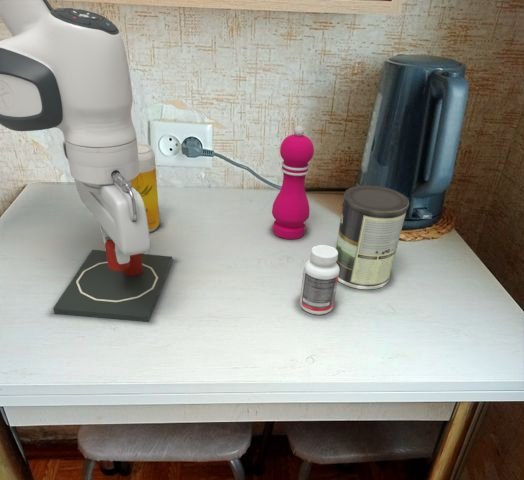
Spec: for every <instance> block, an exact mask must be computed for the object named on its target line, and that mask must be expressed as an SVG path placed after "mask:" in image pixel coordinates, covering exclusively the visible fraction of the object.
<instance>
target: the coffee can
mask: <svg viewBox="0 0 524 480" xmlns="http://www.w3.org/2000/svg"><path fill="white" fill-rule="evenodd" d="M409 206H410V201H409V198H408V197H407V196H406V195H404V194H403V193H401V192H400V191H398V190H395V189H393V188H389V187H385V186H381V185H372V184H369V185H366V184H363V185H355V186H352V187H349V188H347V189H346V190H345V191H344V193H343V202H342V206H341V207H342V209H341V212H340V213H341V214H340V220H339V226H338V232H337V239H336V242H335V243H336V244H335V249H336V250H337V251H338V259H337V261H336V263H337V264H338V266H339V269H340V271H339V277H338V282H339V283H341V284H342V285H344V286H345V287H346V286H347V287H349V288H353V289H356V290H365V291H366V290H370V291H371V290H376V289H380V288H383V287H385V286H386V285H387V284H388V283H389V282H390V278H391V277H390V276H391V272H392V269H393V265H394V262H395V261H394V260H395V257H396V253H397V249H398V245H399V241H400V237H401V234H402V230H403V226H404V222H405V218H406V214H407V211H408V209H409Z"/></svg>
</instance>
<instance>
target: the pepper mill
mask: <svg viewBox="0 0 524 480" xmlns="http://www.w3.org/2000/svg"><path fill="white" fill-rule="evenodd" d="M304 133H305V128H304V127H303V126H302V125H297V126H295V127H294V129H293V134H289V135H288V136H286V137H284V139H283V140H282V142H281V144H280V147H279V154H280V157H281V159H282V160H283V161H282V162H281V168H280V171H281V172H282V173H283V176H282V177H283V178H282V185H281V187H280V190H279V192H278V194H277V195H276V197H275V199H274V201H273V204H272V209H271V215H272V217H273V218H274V221H273V222H272V223H273V225H272V232H273V234H274V235H275V236H276V237H278V238H281V239H284V240H297V239H300V238H302V237H303V236H305V232H306V221H307V220H308V219H309V217H310V209H311V208H310V202H309V200H308V199H309V198H308V196H307V192H306V187H305V185H306V184H305V183H306V176H307V175H308V174H309V172H310V171H309V168H310V164H309V162H310V161H311V160H312V159H313V157H314V154H315V148H314V143H313V141H312V140H311V139H310V138H309V137H308V136H306V135H304Z"/></svg>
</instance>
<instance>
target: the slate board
mask: <svg viewBox="0 0 524 480" xmlns="http://www.w3.org/2000/svg"><path fill="white" fill-rule="evenodd" d="M141 258H142V268H143V271H142V273H141V274H139V275H136V276H128V275H125V274H124V273H123V271H114V270H111V269H109V267H108V262H107V256H106V250H103V249H102V250H100V249H91V251H90V253H89V254H88V256H87V257H86V258H85V260H84V261H83V263H82V265H81V266H80V267H79V269H78V270H77V272H76V274H75V275H74V277H72V279H71V281H70V283H69V284H68V285H67V286H66V288H65V290H64V291H63V293H62V295H61V296H60V297H59V299H57V300H58V301H57V302H56V303H55V305H54V306H53V308H52V310H53V314H55V315H66V316H77V317H78V316H79V317H90V318H99V319H100V318H102V319H111V320H123V321H133V322H134V321H135V322H147V323H149V321H150V318H151V316H152V314H153V311H154V309H155V306H156V304H157V301H158V299H159V297H160V295H161V292H162V289H163V287H164V284H165V281H166V279H167V277H168V274H169V271H170V269H171V266H172V264H173V261H174V259H173V256H171V255H161V254H160V255H159V254H148V253H146V254H145V253H141Z"/></svg>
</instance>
